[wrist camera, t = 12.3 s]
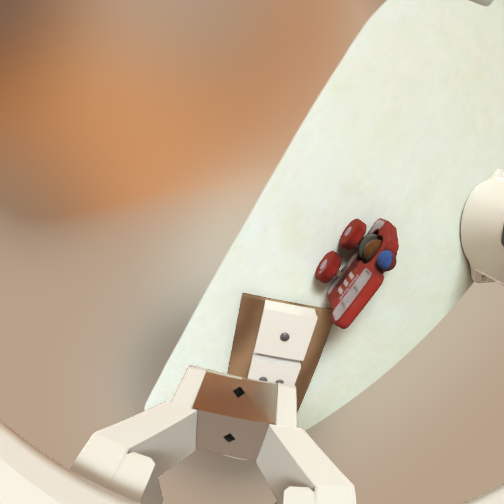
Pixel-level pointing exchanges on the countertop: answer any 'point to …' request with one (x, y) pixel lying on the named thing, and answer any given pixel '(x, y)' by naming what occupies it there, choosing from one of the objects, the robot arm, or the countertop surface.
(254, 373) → the two-pip tile
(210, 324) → the countertop surface
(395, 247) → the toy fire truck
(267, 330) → the one-pip tile
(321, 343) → the walnut board
